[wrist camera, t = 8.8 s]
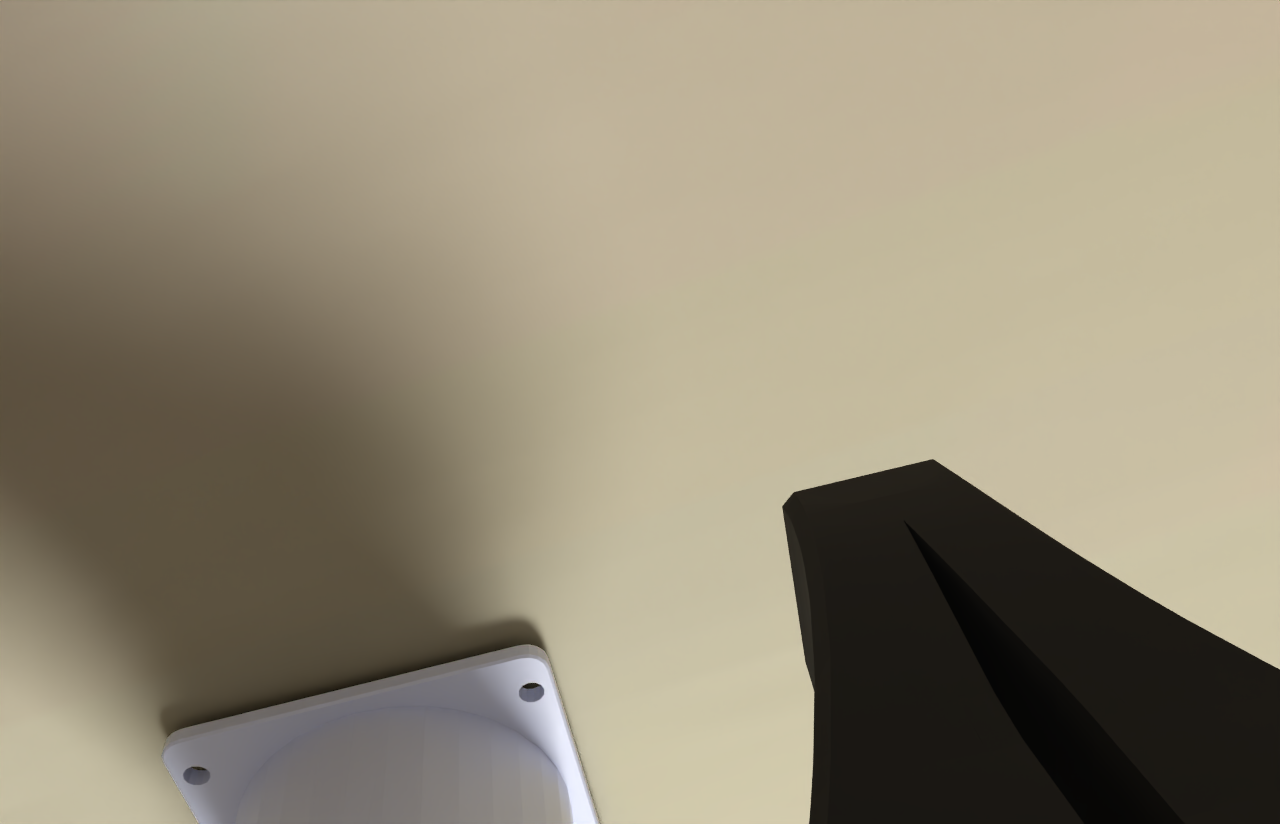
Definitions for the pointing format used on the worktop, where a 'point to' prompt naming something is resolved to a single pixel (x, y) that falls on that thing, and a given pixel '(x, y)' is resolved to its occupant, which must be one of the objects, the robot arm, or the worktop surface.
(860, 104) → the worktop surface
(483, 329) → the worktop surface
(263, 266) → the worktop surface
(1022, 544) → the robot arm
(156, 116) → the worktop surface
